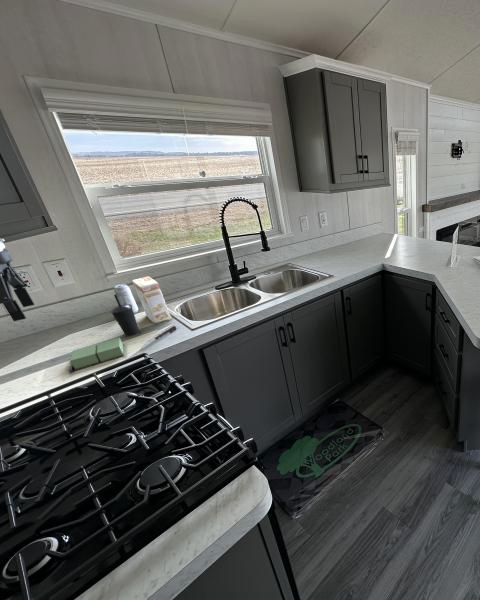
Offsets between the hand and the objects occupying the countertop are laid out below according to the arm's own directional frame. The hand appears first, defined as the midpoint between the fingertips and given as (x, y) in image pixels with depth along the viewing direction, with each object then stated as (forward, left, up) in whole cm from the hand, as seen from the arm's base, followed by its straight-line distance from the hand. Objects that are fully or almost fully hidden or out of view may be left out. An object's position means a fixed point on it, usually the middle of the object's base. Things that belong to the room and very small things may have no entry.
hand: (24, 312), depth 110 cm
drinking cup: (+22, +18, -27) cm, 39 cm away
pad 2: (+15, +3, -25) cm, 29 cm away
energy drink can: (+22, +47, -27) cm, 58 cm away
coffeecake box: (+32, +30, -27) cm, 52 cm away
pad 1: (+8, +3, -25) cm, 26 cm away
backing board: (+11, +3, -26) cm, 29 cm away
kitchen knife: (+31, +5, -27) cm, 41 cm away
